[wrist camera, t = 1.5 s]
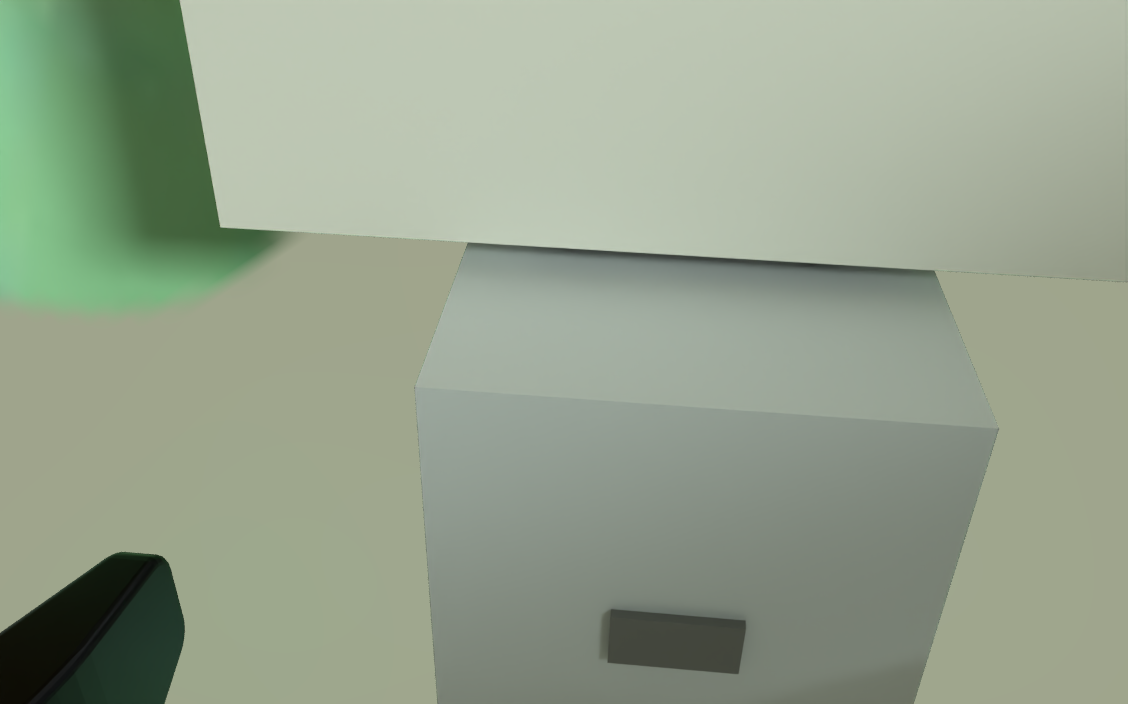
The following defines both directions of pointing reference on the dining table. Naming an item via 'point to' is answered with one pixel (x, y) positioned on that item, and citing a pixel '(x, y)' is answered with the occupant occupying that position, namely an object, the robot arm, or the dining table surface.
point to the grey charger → (692, 478)
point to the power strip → (680, 126)
